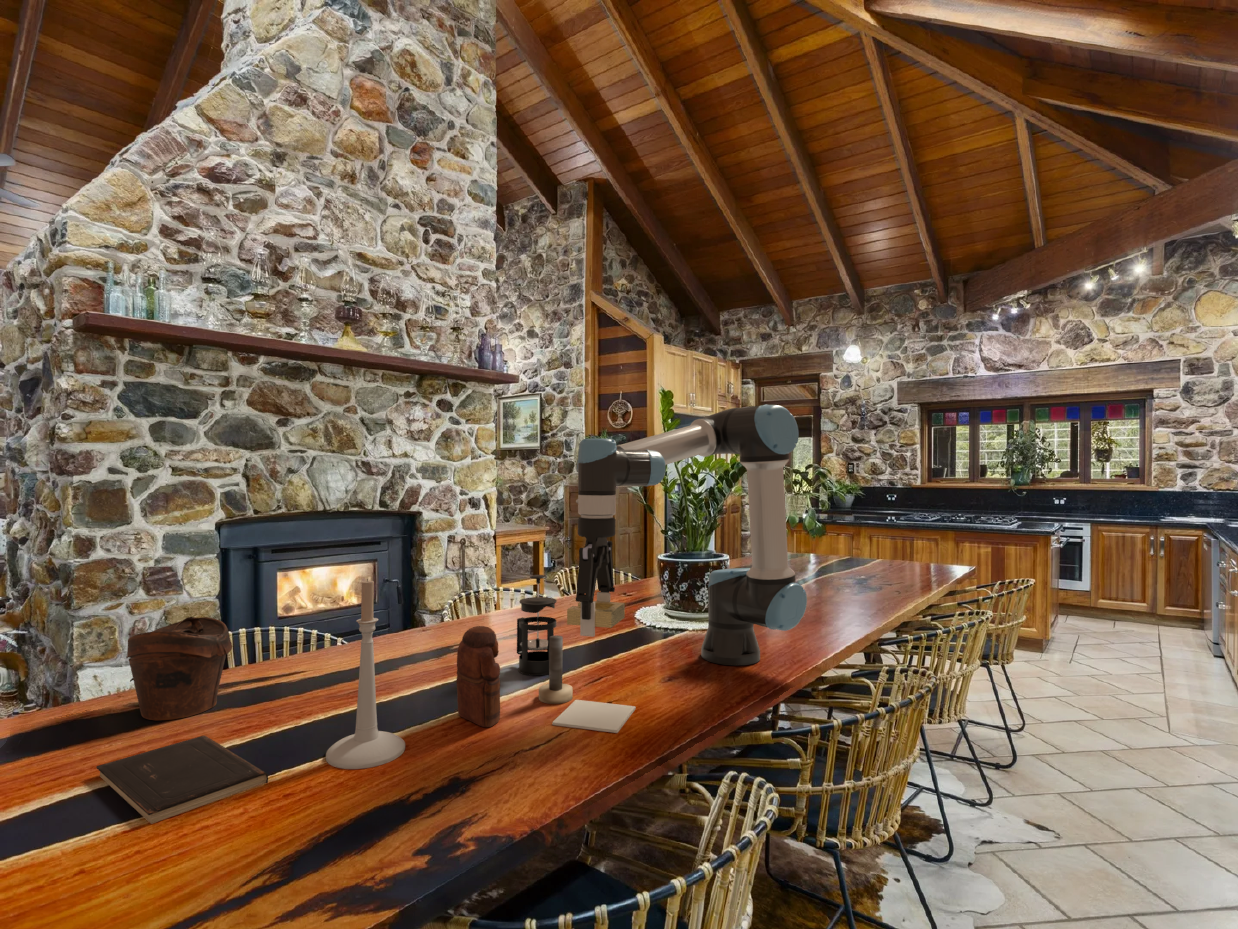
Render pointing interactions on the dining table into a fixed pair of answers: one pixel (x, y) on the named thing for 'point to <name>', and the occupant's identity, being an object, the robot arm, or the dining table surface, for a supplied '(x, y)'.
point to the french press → (537, 660)
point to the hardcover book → (180, 777)
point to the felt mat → (595, 716)
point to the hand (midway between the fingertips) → (595, 629)
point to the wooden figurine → (478, 677)
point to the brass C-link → (599, 614)
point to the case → (178, 667)
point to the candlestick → (366, 706)
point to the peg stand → (555, 676)
